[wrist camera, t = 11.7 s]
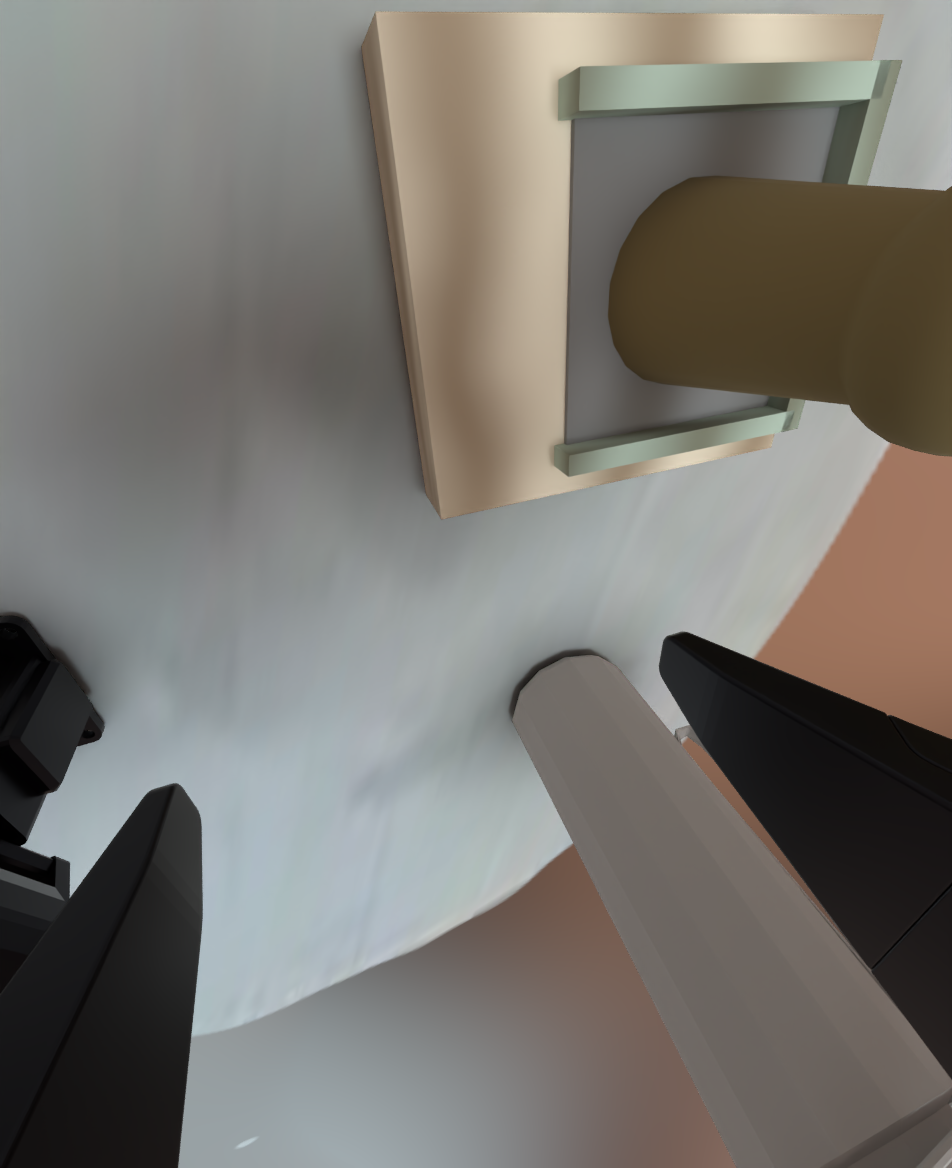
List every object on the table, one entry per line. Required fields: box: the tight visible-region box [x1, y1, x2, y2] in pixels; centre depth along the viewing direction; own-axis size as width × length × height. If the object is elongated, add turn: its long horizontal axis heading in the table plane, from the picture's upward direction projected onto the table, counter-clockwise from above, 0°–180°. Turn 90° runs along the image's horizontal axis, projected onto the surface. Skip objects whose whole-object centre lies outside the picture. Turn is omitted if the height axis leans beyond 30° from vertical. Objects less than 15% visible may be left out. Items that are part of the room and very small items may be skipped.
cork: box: [608, 175, 952, 456], centre depth 13 cm, size 6×6×11 cm
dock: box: [361, 12, 902, 520], centre depth 17 cm, size 15×13×4 cm
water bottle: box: [512, 655, 952, 1168], centre depth 21 cm, size 9×8×25 cm
